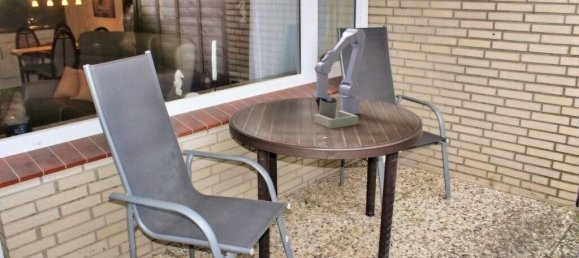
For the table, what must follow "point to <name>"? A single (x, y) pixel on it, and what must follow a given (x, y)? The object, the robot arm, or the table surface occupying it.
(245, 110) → the table surface
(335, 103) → the cup
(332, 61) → the robot arm
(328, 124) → the stall
